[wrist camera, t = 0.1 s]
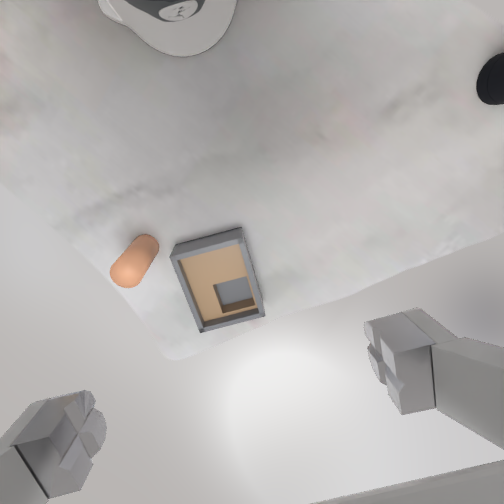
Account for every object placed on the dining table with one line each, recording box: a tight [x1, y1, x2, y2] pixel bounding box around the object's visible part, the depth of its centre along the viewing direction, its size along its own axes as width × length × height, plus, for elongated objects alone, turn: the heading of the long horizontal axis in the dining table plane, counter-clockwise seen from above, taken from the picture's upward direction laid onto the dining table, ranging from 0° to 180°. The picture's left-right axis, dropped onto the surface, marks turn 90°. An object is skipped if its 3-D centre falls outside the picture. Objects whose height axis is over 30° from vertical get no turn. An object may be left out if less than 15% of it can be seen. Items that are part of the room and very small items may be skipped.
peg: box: [110, 235, 159, 288], centre depth 43 cm, size 4×4×10 cm
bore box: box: [170, 227, 265, 333], centre depth 48 cm, size 14×11×5 cm
